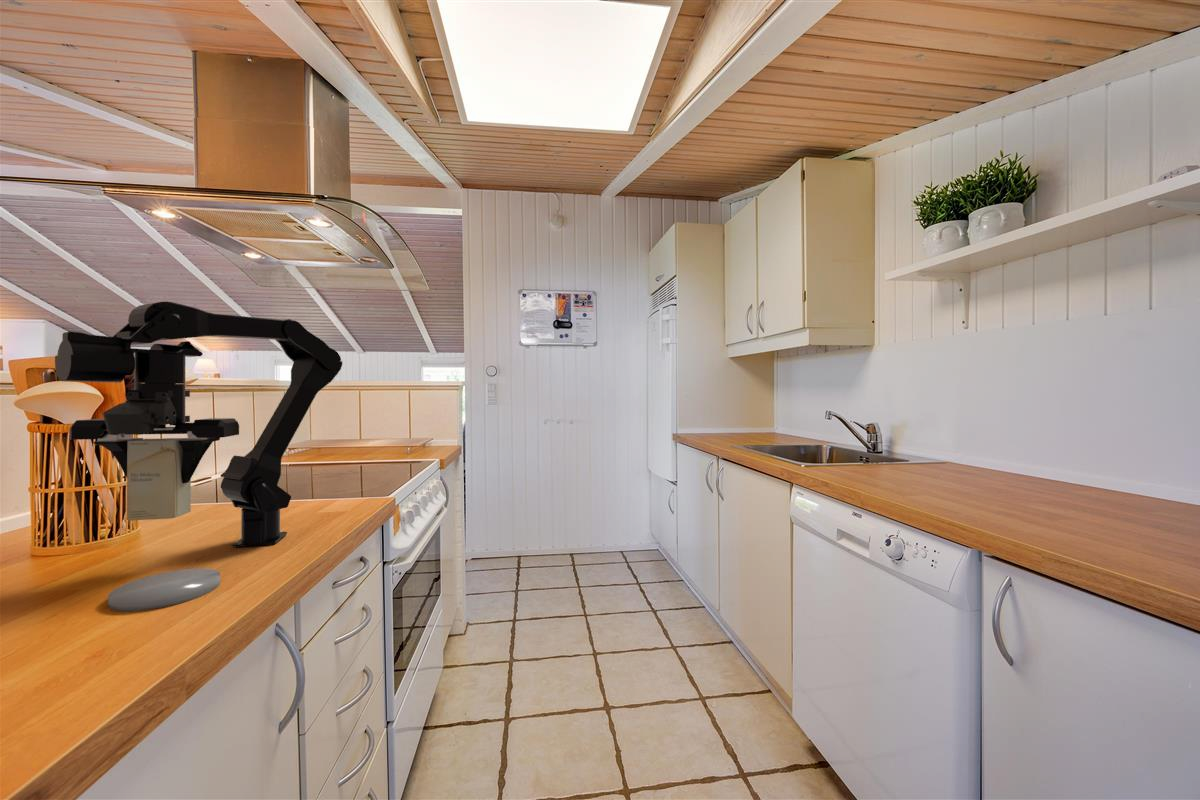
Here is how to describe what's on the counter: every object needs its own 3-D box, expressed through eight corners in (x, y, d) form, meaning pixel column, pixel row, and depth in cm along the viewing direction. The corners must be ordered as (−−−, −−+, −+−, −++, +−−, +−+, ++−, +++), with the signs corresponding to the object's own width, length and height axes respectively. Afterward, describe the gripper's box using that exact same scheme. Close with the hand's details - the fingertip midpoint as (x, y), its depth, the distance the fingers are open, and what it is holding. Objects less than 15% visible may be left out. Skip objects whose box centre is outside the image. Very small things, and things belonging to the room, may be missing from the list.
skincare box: (125, 522, 68) (123, 440, 68) (146, 514, 72) (144, 438, 72) (176, 518, 70) (174, 439, 69) (194, 511, 74) (191, 436, 74)
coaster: (143, 581, 66) (143, 572, 66) (234, 573, 69) (234, 565, 69) (83, 616, 55) (83, 606, 55) (194, 605, 58) (194, 595, 58)
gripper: (34, 381, 60) (34, 498, 60) (204, 383, 66) (204, 491, 66) (99, 383, 71) (99, 482, 71) (240, 385, 76) (240, 477, 77)
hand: (160, 483), depth 71 cm, fingers closed on skincare box, 6 cm apart
